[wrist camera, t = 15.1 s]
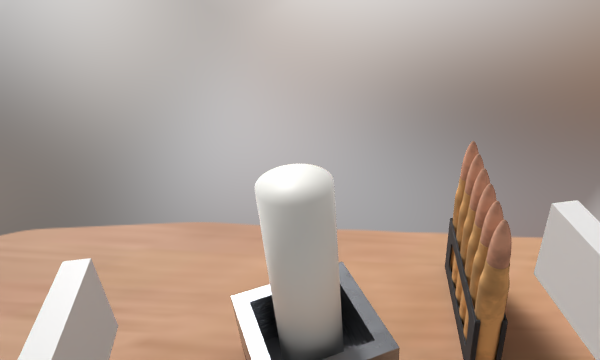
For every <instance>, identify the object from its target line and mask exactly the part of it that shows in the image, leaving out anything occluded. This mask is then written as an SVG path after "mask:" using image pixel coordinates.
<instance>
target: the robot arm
mask: <svg viewBox="0 0 600 360" xmlns="http://www.w3.org/2000/svg"><path fill="white" fill-rule="evenodd" d="M534 275H535V276H536V277H537V279H538V280H539V282H540V283H541V284H542V286H543V287H544V289H545V290H546V291H547V293H548V294H549V295H550V297H551V298H552V300H553V301H554V302H555V304H556V305H557V307H558V308H559V309H560V311H561V312H562V313H563V315H564V316H565V318H566V319H567V320H568V322H569V323H570V324H571V326H572V327H573V329H574V330H575V331H576V333H577V334H578V336H579V337H580V338H581V340H582V341H583V342H584V344H585V345H586V347H587V348H588V349H589V351H590V352H591V354H592V355H593V356H594V358H595V359H596V360H600V222H599V221H598V220H597V219H596V218H595V217H594V216H593V215H592V214H591V213H590V212H589V211H588V210H587V209H586V208H585V207H584V206H583V205H582V204H580V202H578V201H568V202H560V203H552V205H551V209H550V213H549V216H548V220H547V224H546V228H545V232H544V236H543V240H542V243H541V247H540V251H539V255H538V259H537V263H536V267H535V271H534ZM117 328H118V324H117V322H116V319H115V317H114V314H113V312H112V309H111V307H110V304H109V302H108V299H107V297H106V294H105V292H104V289H103V287H102V285H101V282H100V280H99V277H98V275H97V272H96V270H95V267H94V265H93V262H92V260H91V258H89V259H81V260H72V261H64V262H62V264H61V267H60V269H59V271H58V273H57V275H56V277H55V280H54V282H53V284H52V286H51V288H50V290H49V293H48V295H47V297H46V299H45V301H44V304H43V306H42V308H41V310H40V312H39V314H38V317H37V319H36V321H35V323H34V325H33V328H32V330H31V332H30V334H29V336H28V338H27V341H26V343H25V345H24V347H23V349H22V352H21V354H20V356H19V358H18V360H109V358H110V354H111V350H112V347H113V343H114V339H115V336H116V332H117Z"/></svg>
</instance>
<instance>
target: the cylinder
mask: <svg viewBox="0 0 600 360" xmlns="http://www.w3.org/2000/svg"><path fill="white" fill-rule="evenodd" d="M255 195H256V201H257V207H258V213H259V220H260V226H261V232H262V238H263V244H264V250H265V256H266V263H267V269H268V275H269V281H270V287H271V293H272V299H273V306H274V312H275V318H276V324H277V330H278V336H279V342H280V349H281V355H282V360H322V359H325V358H328V357H331V356H333V355H336V354H339V353H342V352H344V346H343V329H342V312H341V295H340V279H339V262H338V245H337V228H336V211H335V194H334V181H333V177H332V175H331V174H330V173H329V172H328V171H327V170H325V169H323V168H321V167H318V166H315V165H310V164H290V165H284V166H280V167H277V168H274V169H272V170H270V171H268V172H266V173H264V174H263V175H262V176H261V177H260V178H259V179H258V180H257V182H256V184H255Z"/></svg>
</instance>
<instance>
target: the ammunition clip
mask: <svg viewBox="0 0 600 360" xmlns="http://www.w3.org/2000/svg"><path fill="white" fill-rule="evenodd" d="M510 256H511V233H510V228H509V225H508V222H507V221H506V220H504V219H503V212H502V208H501V205H500V203H499V201H496V194H495V190H494V188H493V186H492V184H490V180H489V176H488V173H487V170H486V169H484V165H483V161H482V158H481V156H480V155H479V154H478V148H477V145H476V143H475V142H474V141H473V142H471V144H470V145H469V147H468V149H467V151H466V153H465V156H464V160H463V164H462V168H461V176H460V180H459V186H458V189H457V192H456V196H455V204H454V213H453V218H451V219H450V224H449V234H448V243H447V252H446V262H445V269H446V274H447V279H448V284H449V289H450V294H451V299H452V304H453V309H454V314H455V319H456V324H457V329H458V334H459V339H460V344H461V349H462V354H463V359H464V360H501V357H502V351H503V346H504V340H505V335H506V329H507V324H508V322H507V319H506V315H505V307H506V301H507V296H508V290H509V267H510Z"/></svg>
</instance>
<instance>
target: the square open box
mask: <svg viewBox="0 0 600 360" xmlns="http://www.w3.org/2000/svg"><path fill="white" fill-rule="evenodd" d="M339 279H340V295H341V312H342V329H343V346H344V352H342V353H339V354H336V355H333V356H331V357H328V358H325V359H322V360H399V346H398V345H397V343H396V342H395V340H394V339H393V337H392V336H391V334H390V333H389V331H388V330H387V328H386V327H385V325H384V324H383V322H382V321H381V319H380V318H379V316H378V315H377V313H376V312H375V310H374V309H373V307H372V306H371V304H370V303H369V301H368V300H367V298H366V297H365V295H364V294H363V292H362V291H361V289H360V288H359V286H358V285H357V283H356V282H355V280H354V279H353V277H352V276H351V274H350V273H349V271H348V270H347V268H346V267H345V265H344V264H343V262H339ZM231 298H232V303H233V307H234V312H235V316H236V321H237V325H238V330H239V334H240V339H241V343H242V347H243V350H244V354H245V357H246V360H282V355H281V349H280V342H279V336H278V330H277V324H276V318H275V312H274V306H273V299H272V293H271V287H270V284H269V285H266V286H263V287H259V288H256V289H253V290H250V291H247V292H244V293H240V294H237V295H234V296H231Z"/></svg>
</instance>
